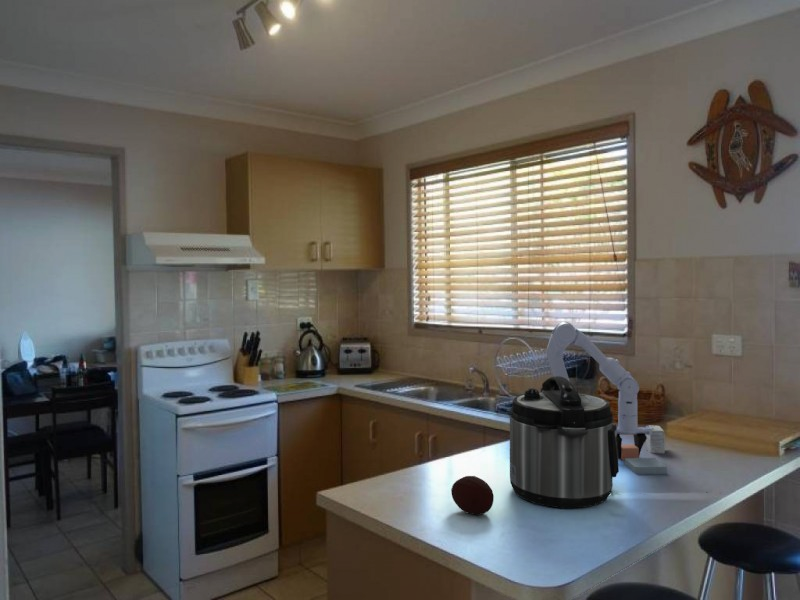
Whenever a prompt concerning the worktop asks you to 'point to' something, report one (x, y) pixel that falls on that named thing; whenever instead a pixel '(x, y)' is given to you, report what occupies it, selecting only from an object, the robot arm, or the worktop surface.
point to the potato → (472, 495)
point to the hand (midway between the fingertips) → (627, 457)
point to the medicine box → (655, 440)
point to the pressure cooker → (562, 446)
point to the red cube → (629, 451)
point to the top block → (645, 466)
